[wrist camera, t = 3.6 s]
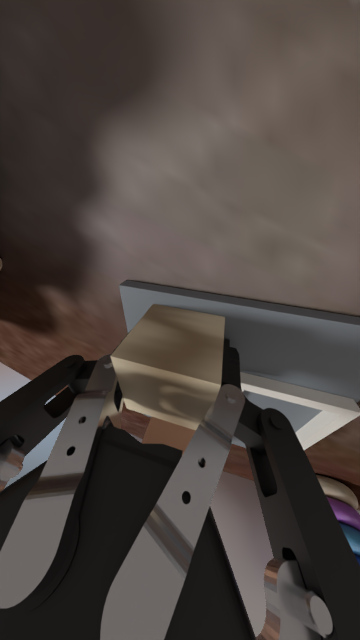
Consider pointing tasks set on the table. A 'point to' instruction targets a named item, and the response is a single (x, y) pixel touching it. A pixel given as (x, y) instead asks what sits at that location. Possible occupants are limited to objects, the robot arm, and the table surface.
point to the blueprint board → (277, 354)
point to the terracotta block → (168, 434)
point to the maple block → (171, 364)
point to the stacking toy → (344, 510)
